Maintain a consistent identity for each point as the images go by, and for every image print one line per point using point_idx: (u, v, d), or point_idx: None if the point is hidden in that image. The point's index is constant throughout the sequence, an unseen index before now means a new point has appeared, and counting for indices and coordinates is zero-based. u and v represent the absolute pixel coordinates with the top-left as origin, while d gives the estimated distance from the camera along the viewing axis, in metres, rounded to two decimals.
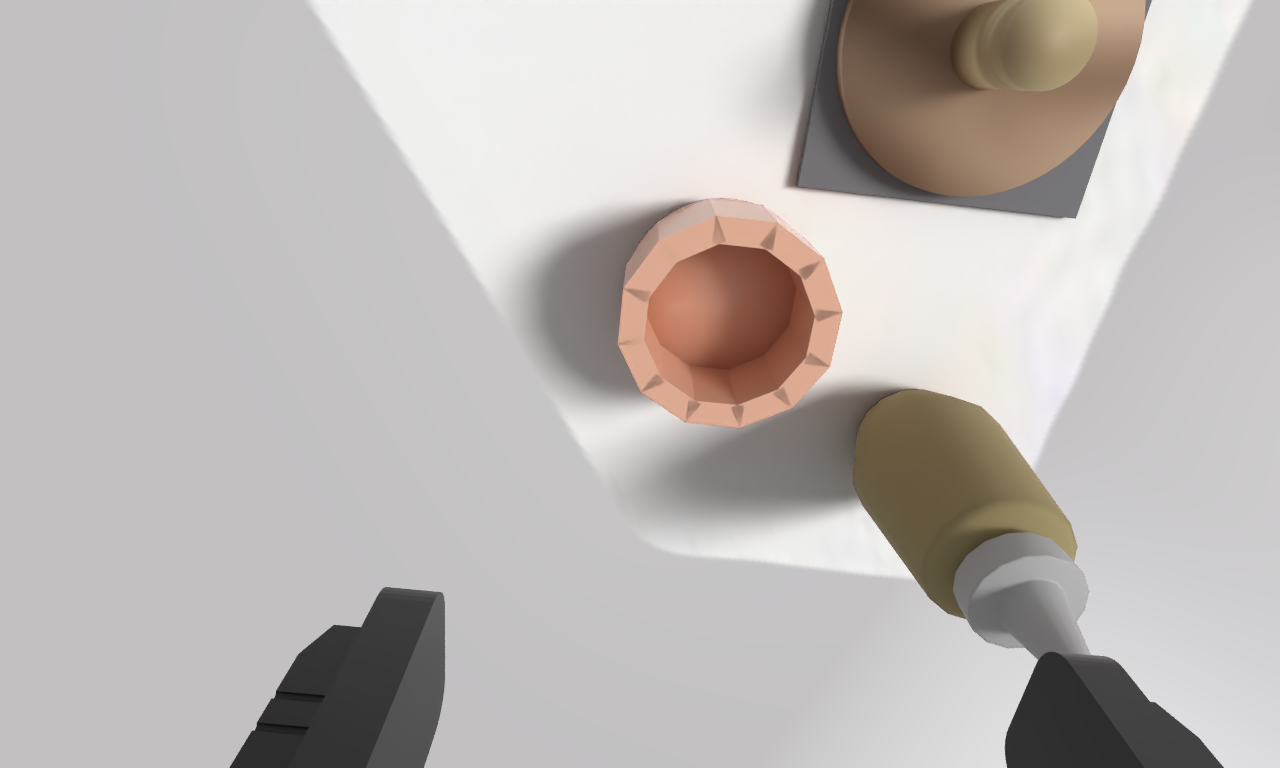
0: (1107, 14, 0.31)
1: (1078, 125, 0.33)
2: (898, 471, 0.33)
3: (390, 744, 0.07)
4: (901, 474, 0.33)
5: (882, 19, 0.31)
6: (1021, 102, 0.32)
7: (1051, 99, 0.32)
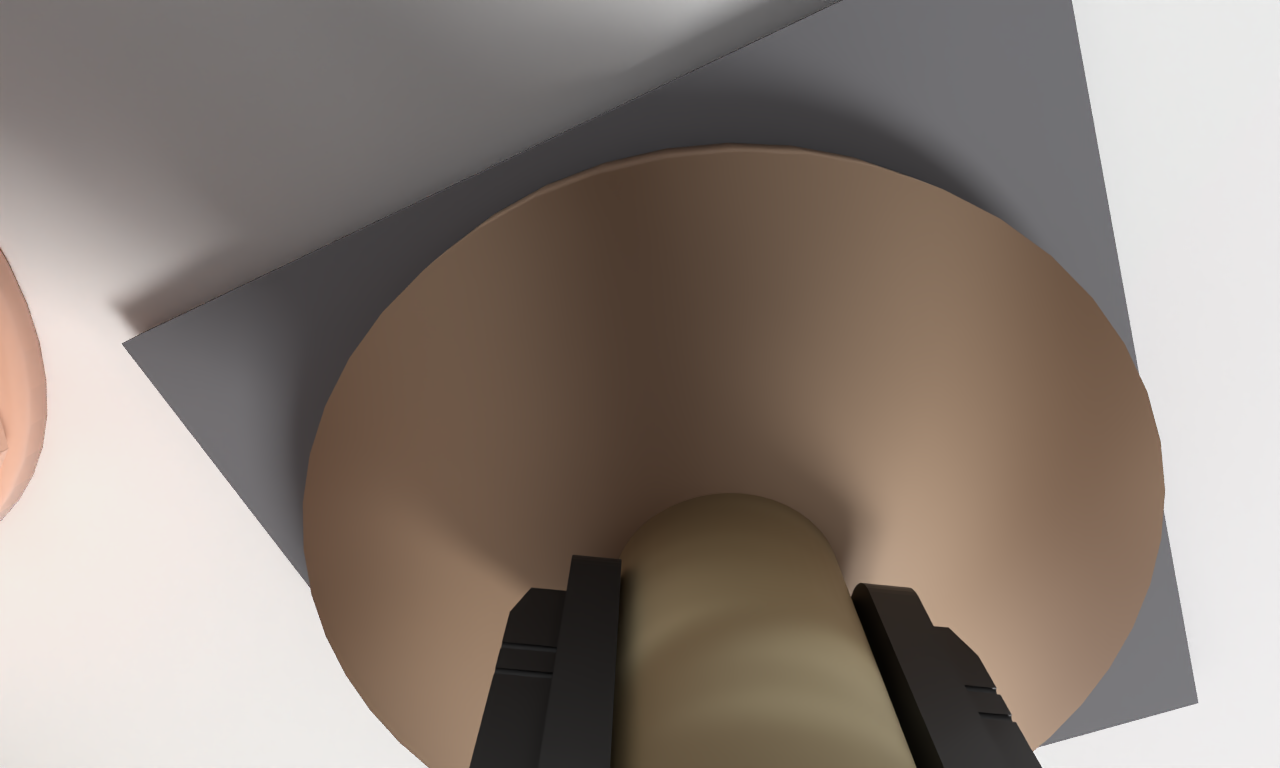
0: None
1: None
2: None
3: None
4: None
5: (622, 291, 0.09)
6: None
7: None
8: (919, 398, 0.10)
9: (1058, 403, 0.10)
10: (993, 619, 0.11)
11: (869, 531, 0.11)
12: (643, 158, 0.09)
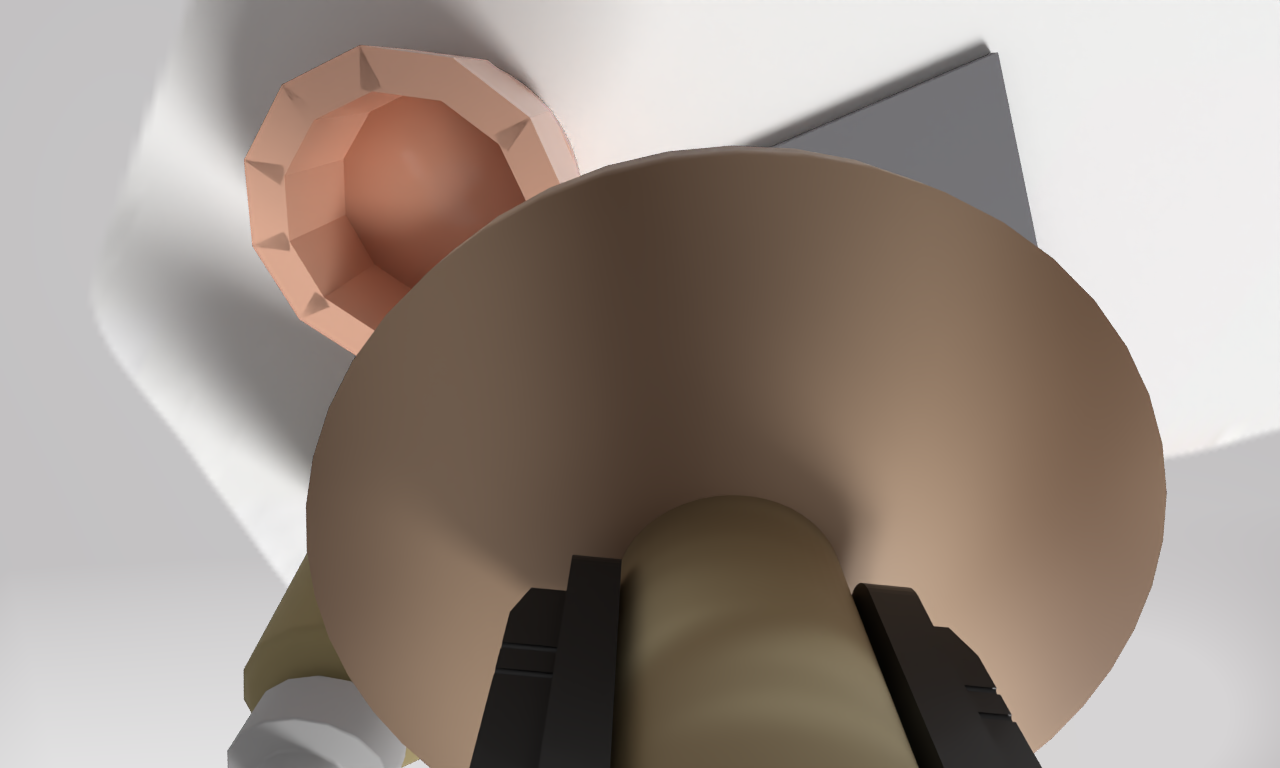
0: None
1: None
2: None
3: None
4: None
5: (625, 293, 0.09)
6: None
7: None
8: (921, 400, 0.10)
9: (1060, 406, 0.10)
10: (995, 621, 0.11)
11: (872, 532, 0.11)
12: (646, 161, 0.09)
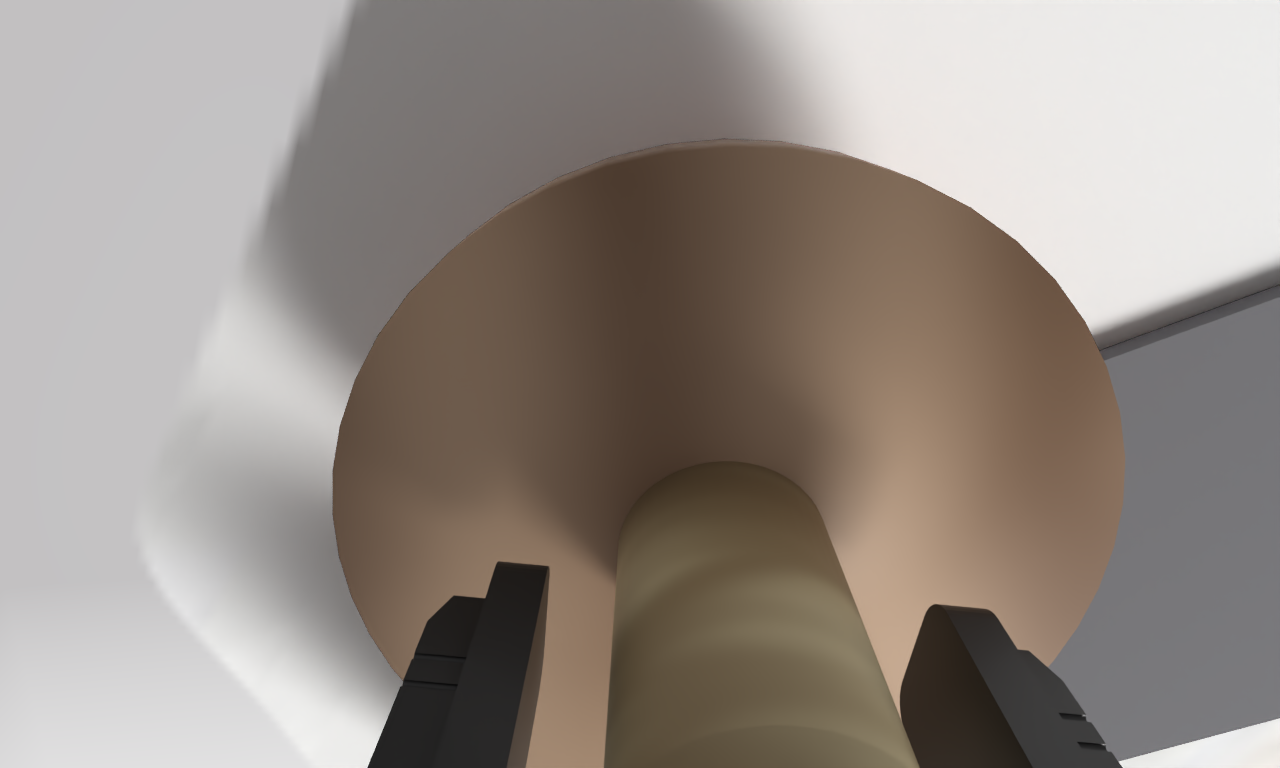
0: (898, 707, 0.13)
1: None
2: None
3: (525, 699, 0.08)
4: None
5: (627, 273, 0.10)
6: None
7: None
8: (899, 372, 0.11)
9: (1025, 377, 0.11)
10: (970, 580, 0.12)
11: (855, 496, 0.12)
12: (646, 153, 0.10)
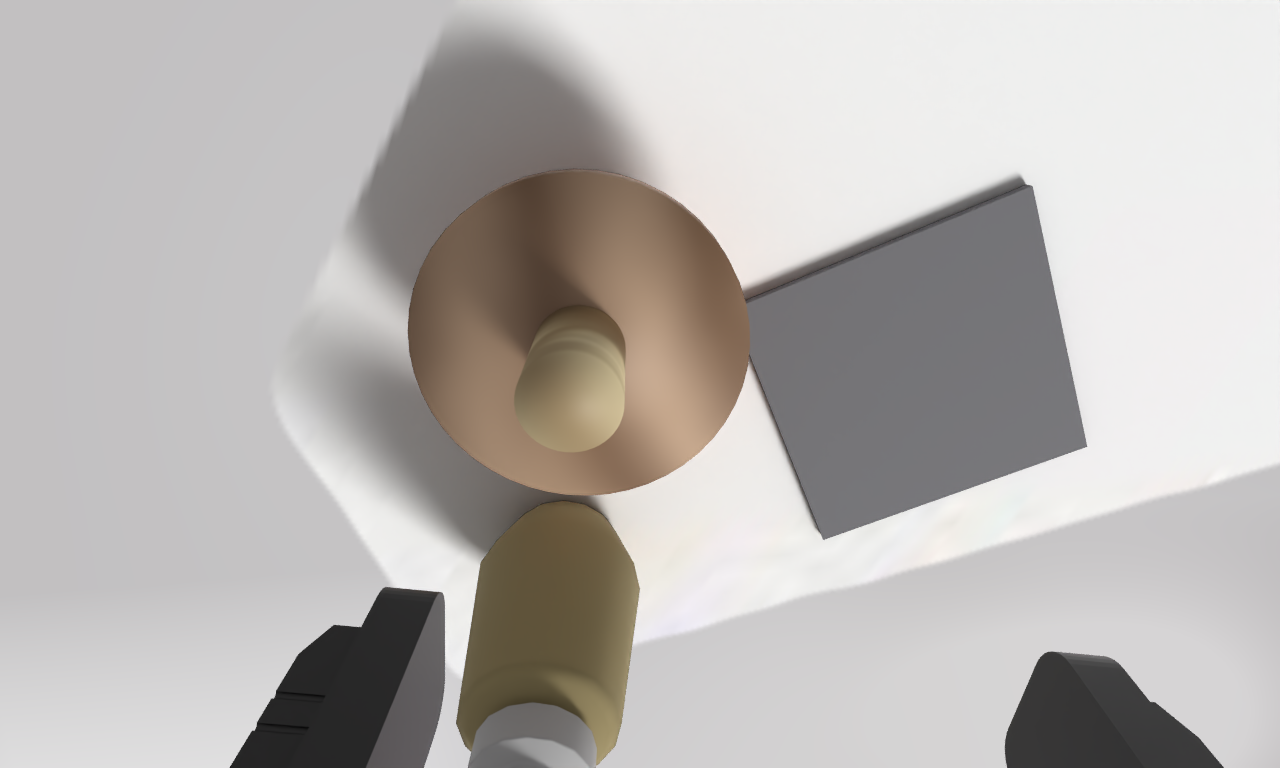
0: (668, 431, 0.29)
1: (570, 477, 0.29)
2: (548, 577, 0.30)
3: (390, 744, 0.07)
4: (548, 583, 0.30)
5: (532, 222, 0.25)
6: None
7: None
8: (645, 264, 0.26)
9: (698, 267, 0.26)
10: (690, 362, 0.27)
11: (634, 321, 0.27)
12: (539, 174, 0.25)
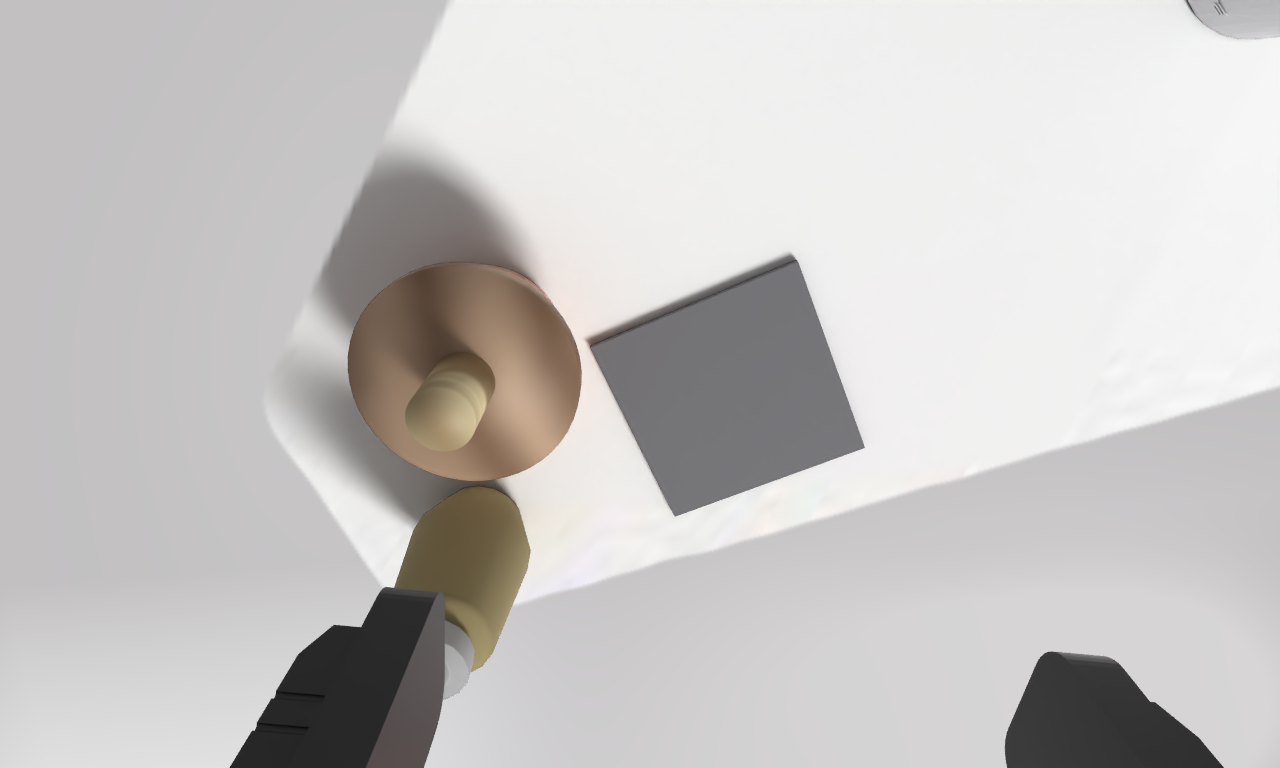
0: (529, 436, 0.41)
1: (464, 468, 0.42)
2: (452, 538, 0.43)
3: (389, 744, 0.07)
4: (451, 541, 0.43)
5: (426, 298, 0.38)
6: None
7: None
8: (503, 325, 0.39)
9: (539, 327, 0.39)
10: (540, 390, 0.40)
11: (499, 362, 0.40)
12: (431, 267, 0.38)
